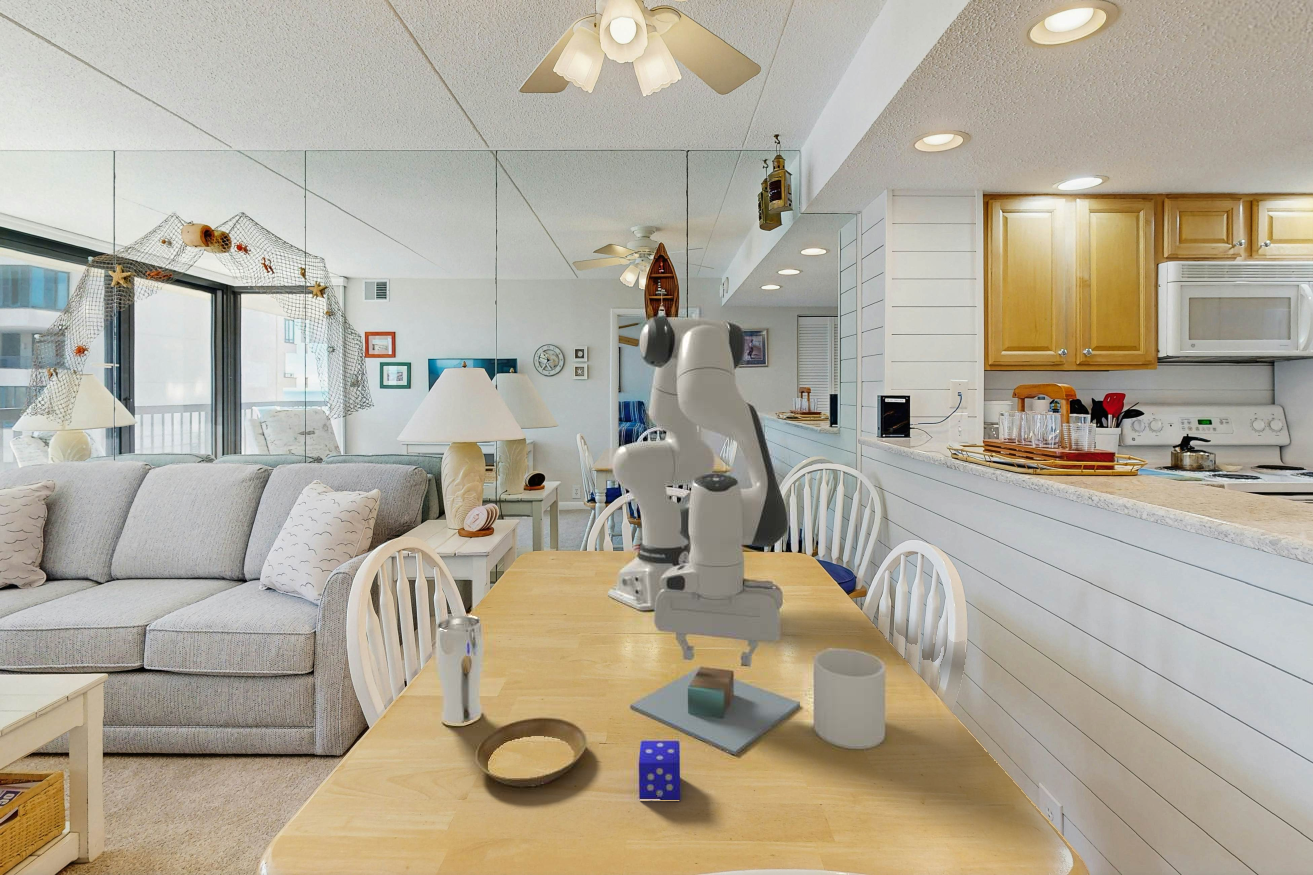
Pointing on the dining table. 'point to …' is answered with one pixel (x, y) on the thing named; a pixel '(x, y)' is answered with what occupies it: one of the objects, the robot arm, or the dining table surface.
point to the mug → (849, 698)
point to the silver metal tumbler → (460, 667)
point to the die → (659, 770)
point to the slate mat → (733, 733)
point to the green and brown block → (711, 692)
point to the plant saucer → (527, 729)
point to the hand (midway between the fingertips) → (717, 661)
